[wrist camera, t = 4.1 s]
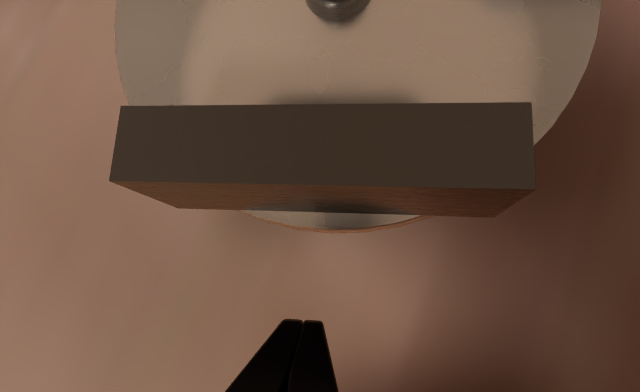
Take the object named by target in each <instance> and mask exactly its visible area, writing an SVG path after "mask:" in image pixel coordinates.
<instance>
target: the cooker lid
mask: <svg viewBox="0 0 640 392" xmlns="http://www.w3.org/2000/svg"><path fill="white" fill-rule="evenodd" d="M600 11H601V0H117V5H116V15H115V25H114V26H115V52H116V57H117V63H118V69H119V74H120V79H121V82H122V85H123V88H124V91H125V94H126V97H127V100H128V103H129V105H130V106H121V108H120V115H119V121H118V128H117V134H116V140H115V147H114V153H113V160H112V166H111V172H110V179H109V181H110V182H113V183H115V184H118V185H120V186H123V187H126V188H128V189H131V190H133V191H136V192H138V193H141V194H143V195H146V196H148V197H151V198H153V199H156V200H159V201H161V202H164V203H166V204H169V205H171V206H174V207H176V208H187V209H222V210H239V211H240V212H243V213H245V214H248V215H250V216H253V217H255V218H258V219H261V220H263V221H266V222H268V223H272V224H276V225H280V226H284V227H289V228H293V229H297V230H304V231H313V232H323V233H360V232H369V231H376V230H382V229H388V228H394V227H399V226H402V225H406V224H409V223H412V222H416V221H419V220H422V219H426V218H429V217H432V216H463V217H495V216H497V215H498V214H500V213H501V212H503V211H504V210H506V209H507V208H509V207H510V206H512V205H513V204H515V203H516V202H518V201H519V200H521V199H522V198H524V197H525V196H527V195H528V194H530V193H531V192H533V191H534V190H535V189H536V183H535V162H534V146H535V144H536V143H537V142H538V141H539V140H540V139H541V138H542V137H543V136H544V135H545V134H546V133H547V132H548V131H549V129H550V128H551V127H552V126H553V124H554V123H555V122H556V120H557V119H558V117H559V116H560V114H561V113H562V112H563V110H564V109H565V107H566V106H567V104H568V103H569V101H570V100H571V99H572V97H573V95H574V93H575V91H576V89H577V86H578V84H579V82H580V80H581V78H582V76H583V74H584V72H585V70H586V68H587V65H588V62H589V59H590V56H591V53H592V50H593V47H594V43H595V40H596V37H597V31H598V24H599V18H600Z"/></svg>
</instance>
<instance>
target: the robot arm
mask: <svg viewBox="0 0 640 392" xmlns="http://www.w3.org/2000/svg"><path fill="white" fill-rule="evenodd" d="M225 392H338V387H337V383H336V378H335V374H334V369H333V365H332V361H331V356H330V352H329V347H328V343H327V338H326V334H325V330H324V325H323V323H322V321H316V320H305V321H304V322H303V321H302V320H298V319H285V320H283V321H282V322H281V323H280V324H279V325H278V327H277V328H276V329H275V330H274V332H273V333H272V334H271V335H270V337H269V338H268V339H267V340H266V341H265V343H264V344H263V345H262V346H261V348H260V349H259V350H258V351H257V353H256V354H255V355H254V356H253V358H252V359H251V360H250V361H249V363H248V364H247V365H246V366H245V368H244V369H243V370H242V371H241V372H240V374H239V375H238V376H237V377H236V379H235V380H234V381H233V382H232V384H231V385H230V386H229V387H228V389H227V390H226V391H225Z"/></svg>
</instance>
